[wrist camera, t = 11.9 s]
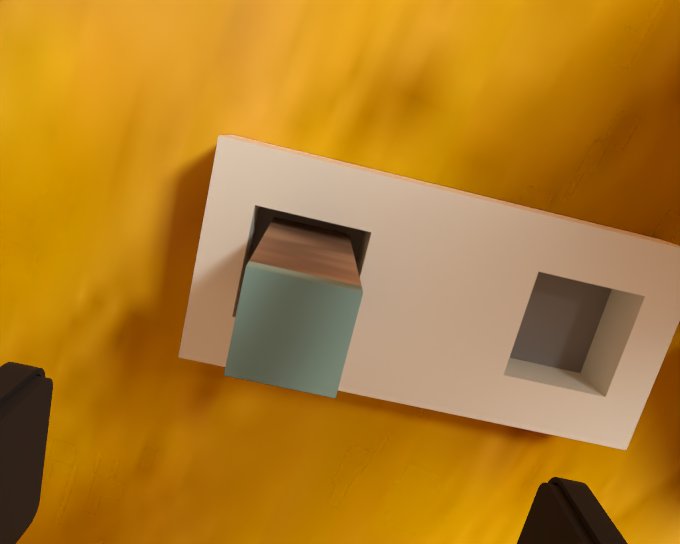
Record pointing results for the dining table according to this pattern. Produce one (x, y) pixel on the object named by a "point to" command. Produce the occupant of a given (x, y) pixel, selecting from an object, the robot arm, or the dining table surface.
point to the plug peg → (296, 309)
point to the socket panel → (453, 293)
